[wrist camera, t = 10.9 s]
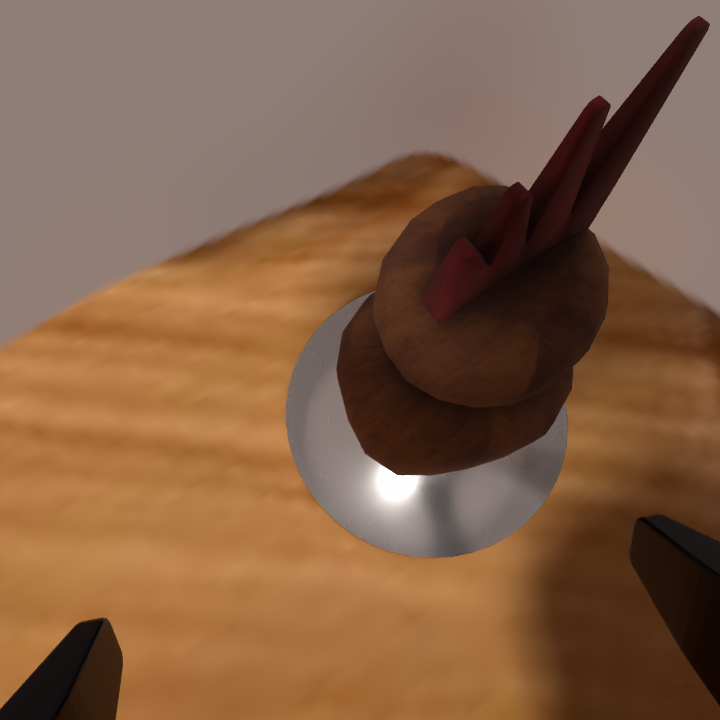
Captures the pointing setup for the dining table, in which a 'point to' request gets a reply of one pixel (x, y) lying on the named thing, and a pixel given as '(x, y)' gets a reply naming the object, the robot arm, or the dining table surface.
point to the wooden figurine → (494, 300)
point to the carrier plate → (406, 493)
